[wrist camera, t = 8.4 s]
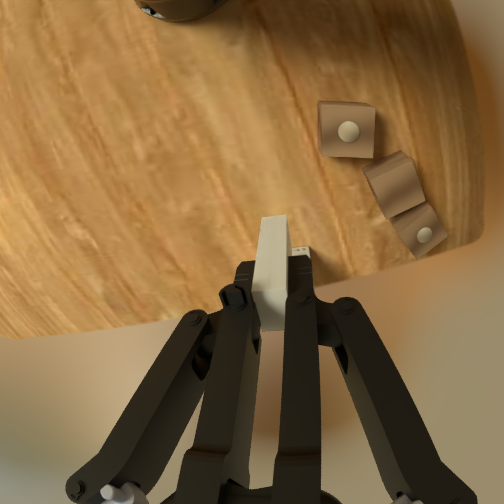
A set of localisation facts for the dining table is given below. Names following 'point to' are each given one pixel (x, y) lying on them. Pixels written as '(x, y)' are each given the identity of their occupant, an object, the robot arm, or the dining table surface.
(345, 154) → the dotted walnut block
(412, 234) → the dotted walnut block
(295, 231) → the dining table surface
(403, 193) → the plain walnut block
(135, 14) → the dining table surface
